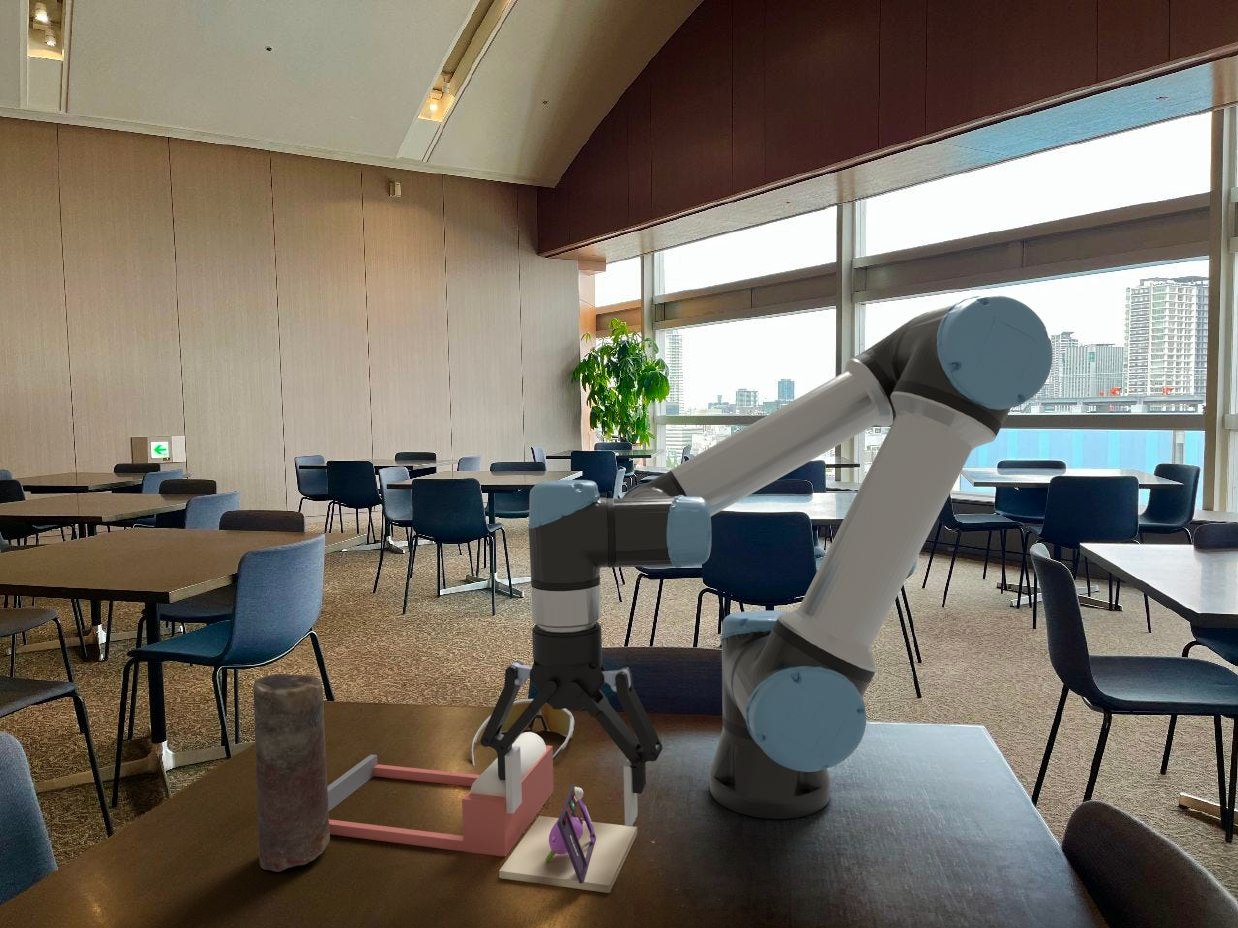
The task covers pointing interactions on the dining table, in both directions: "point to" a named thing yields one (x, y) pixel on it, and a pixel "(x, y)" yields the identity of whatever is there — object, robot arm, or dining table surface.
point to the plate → (559, 870)
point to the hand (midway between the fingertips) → (571, 814)
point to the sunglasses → (550, 718)
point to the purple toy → (572, 834)
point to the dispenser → (481, 806)
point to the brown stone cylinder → (290, 770)
